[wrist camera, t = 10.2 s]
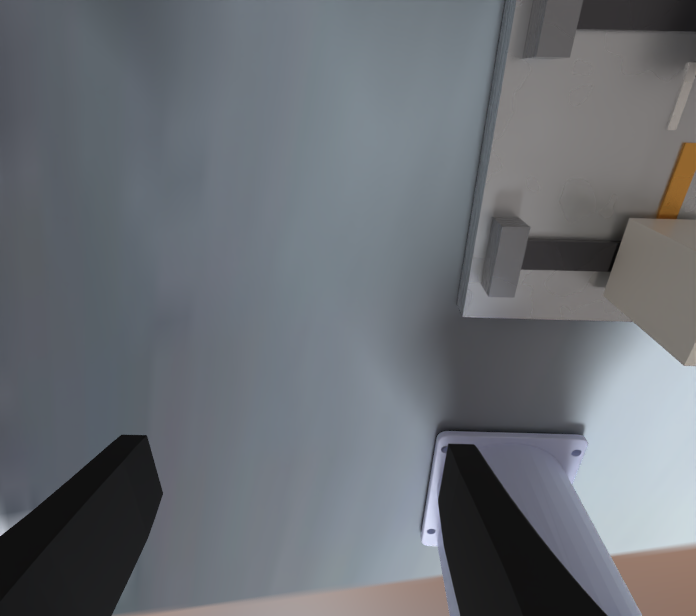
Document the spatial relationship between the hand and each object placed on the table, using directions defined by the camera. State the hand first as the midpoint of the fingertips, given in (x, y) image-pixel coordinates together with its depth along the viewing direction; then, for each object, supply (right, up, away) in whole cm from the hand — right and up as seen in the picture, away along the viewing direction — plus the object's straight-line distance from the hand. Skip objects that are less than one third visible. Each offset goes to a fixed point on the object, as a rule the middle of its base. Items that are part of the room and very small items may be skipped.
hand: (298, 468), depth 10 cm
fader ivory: (+13, +6, +6) cm, 16 cm away
